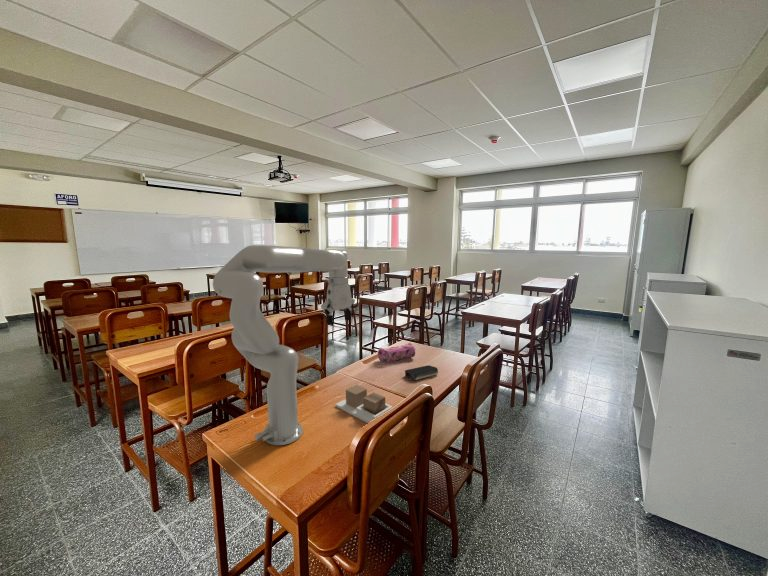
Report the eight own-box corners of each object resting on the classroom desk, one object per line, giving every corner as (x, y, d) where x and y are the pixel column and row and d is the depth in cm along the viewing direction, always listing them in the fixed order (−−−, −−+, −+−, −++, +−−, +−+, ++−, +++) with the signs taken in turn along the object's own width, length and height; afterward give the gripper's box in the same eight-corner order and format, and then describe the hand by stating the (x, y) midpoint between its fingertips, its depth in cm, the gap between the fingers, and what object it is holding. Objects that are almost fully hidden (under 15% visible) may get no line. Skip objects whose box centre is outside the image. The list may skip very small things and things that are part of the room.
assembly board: (375, 427, 111) (375, 409, 110) (335, 406, 125) (335, 390, 124) (396, 413, 120) (396, 396, 119) (356, 395, 134) (356, 380, 133)
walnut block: (374, 418, 115) (374, 403, 114) (363, 412, 119) (363, 397, 118) (385, 411, 119) (385, 397, 118) (373, 406, 123) (373, 392, 122)
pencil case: (384, 366, 166) (384, 350, 165) (376, 361, 174) (376, 345, 173) (416, 359, 177) (417, 344, 175) (407, 354, 185) (408, 340, 183)
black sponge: (413, 382, 147) (413, 375, 147) (403, 376, 155) (403, 369, 154) (439, 375, 155) (439, 369, 155) (429, 370, 163) (429, 363, 162)
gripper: (327, 284, 116) (328, 328, 118) (360, 280, 129) (360, 319, 131) (315, 282, 121) (316, 324, 123) (347, 278, 134) (348, 317, 136)
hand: (339, 322), depth 127 cm, fingers open, 9 cm apart
